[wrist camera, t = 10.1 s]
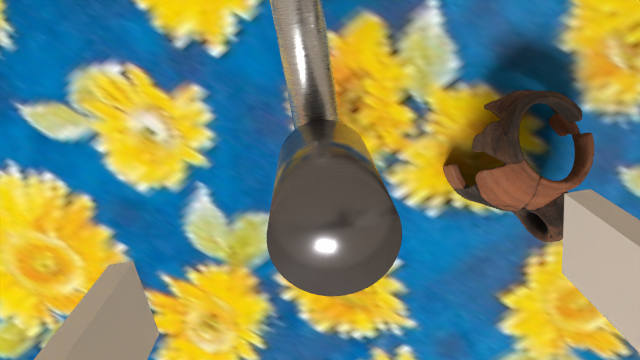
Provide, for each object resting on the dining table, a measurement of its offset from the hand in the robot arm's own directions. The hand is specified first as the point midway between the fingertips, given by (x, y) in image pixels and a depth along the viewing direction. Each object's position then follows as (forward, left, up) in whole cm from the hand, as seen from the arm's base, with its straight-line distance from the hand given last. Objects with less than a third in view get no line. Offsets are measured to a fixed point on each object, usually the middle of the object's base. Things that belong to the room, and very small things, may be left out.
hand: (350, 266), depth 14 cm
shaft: (0, -8, -12) cm, 15 cm away
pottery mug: (-14, +6, -23) cm, 28 cm away
